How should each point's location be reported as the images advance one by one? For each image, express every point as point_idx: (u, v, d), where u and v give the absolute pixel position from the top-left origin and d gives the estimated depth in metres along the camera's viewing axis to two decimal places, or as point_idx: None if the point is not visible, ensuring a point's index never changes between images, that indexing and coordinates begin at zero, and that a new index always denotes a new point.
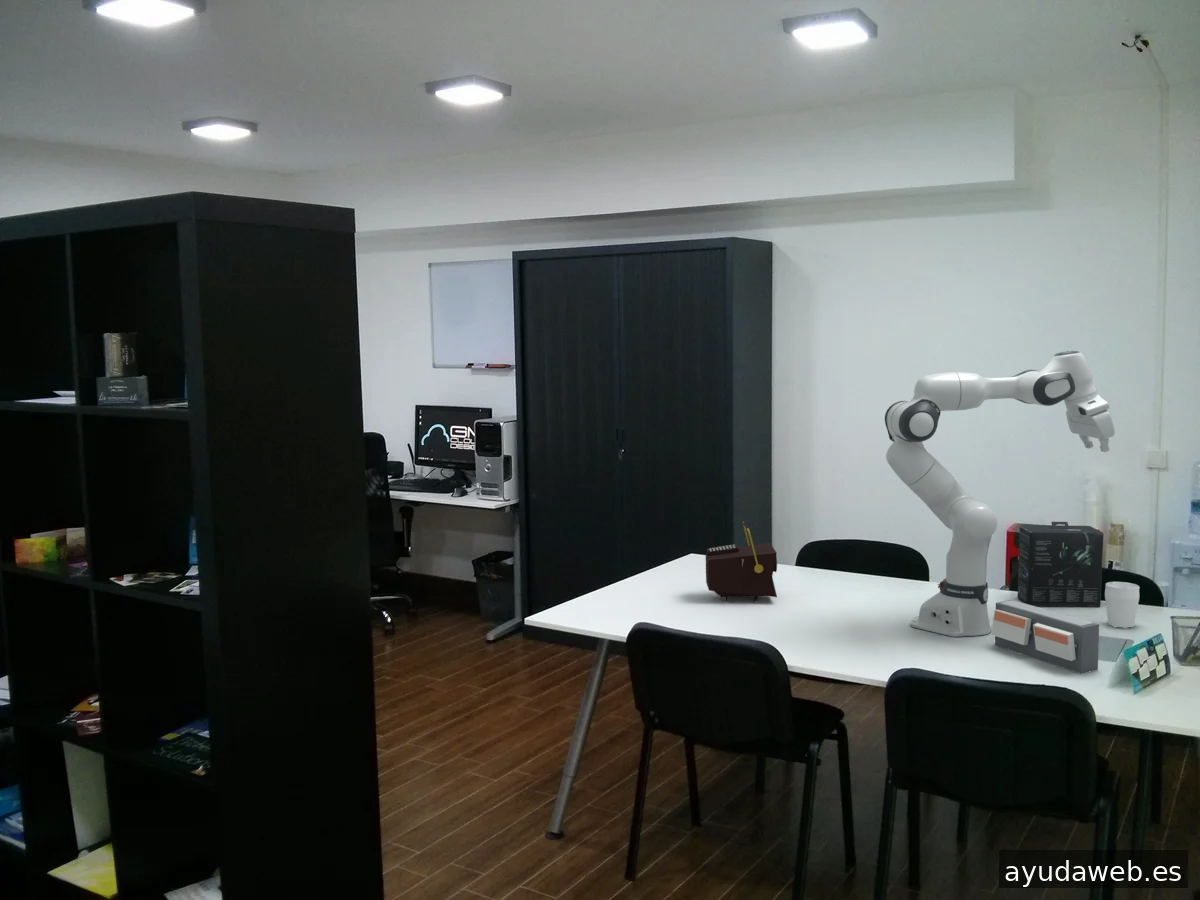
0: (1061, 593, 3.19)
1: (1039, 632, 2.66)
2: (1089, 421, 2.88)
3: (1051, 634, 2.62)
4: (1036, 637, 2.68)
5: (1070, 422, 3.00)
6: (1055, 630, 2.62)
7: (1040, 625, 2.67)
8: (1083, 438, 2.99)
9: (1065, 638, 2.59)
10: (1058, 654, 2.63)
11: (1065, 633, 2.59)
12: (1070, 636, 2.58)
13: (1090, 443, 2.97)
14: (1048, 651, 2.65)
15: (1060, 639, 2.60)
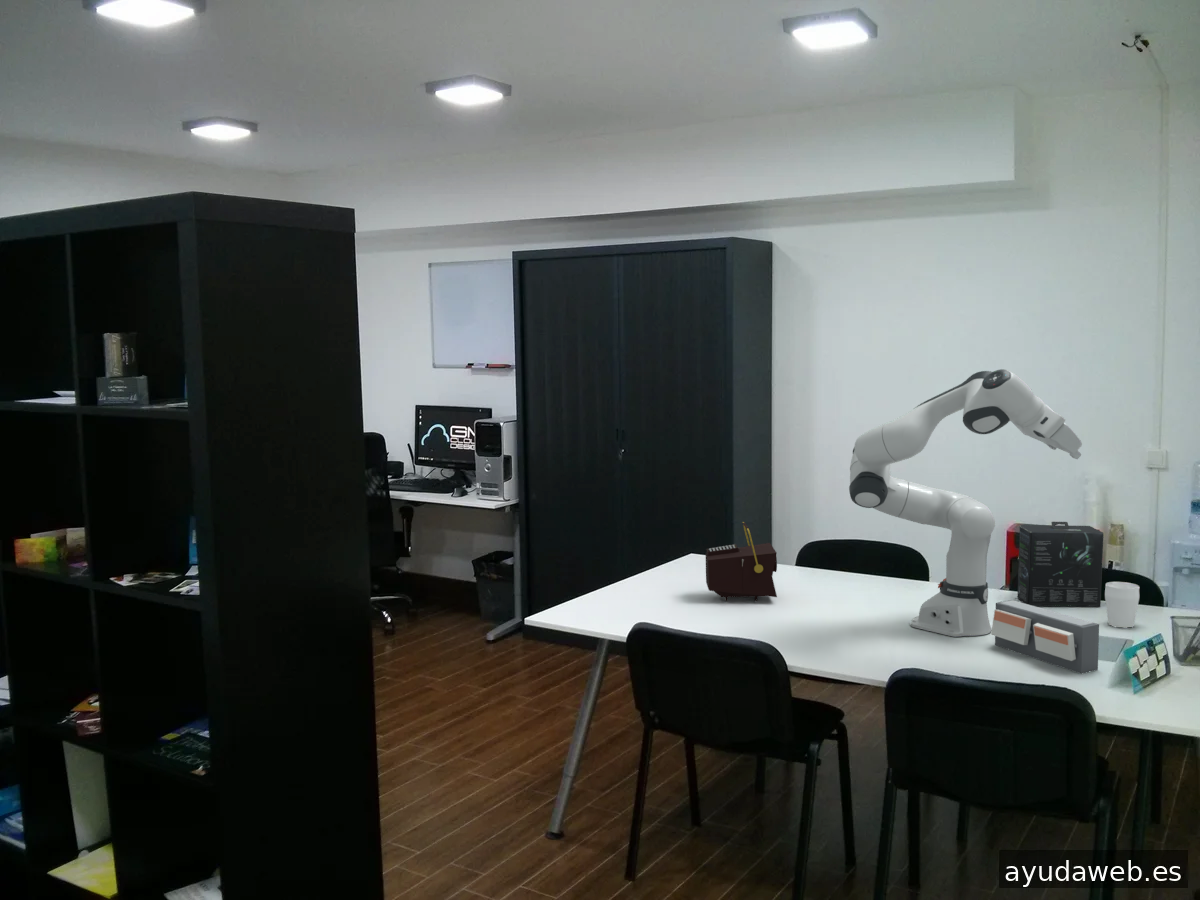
0: (1061, 593, 3.19)
1: (1039, 632, 2.66)
2: None
3: (1051, 634, 2.62)
4: (1036, 637, 2.68)
5: None
6: (1055, 630, 2.62)
7: (1040, 625, 2.67)
8: None
9: (1065, 638, 2.59)
10: (1058, 654, 2.63)
11: (1065, 633, 2.59)
12: (1070, 636, 2.58)
13: None
14: (1048, 651, 2.65)
15: (1060, 639, 2.60)
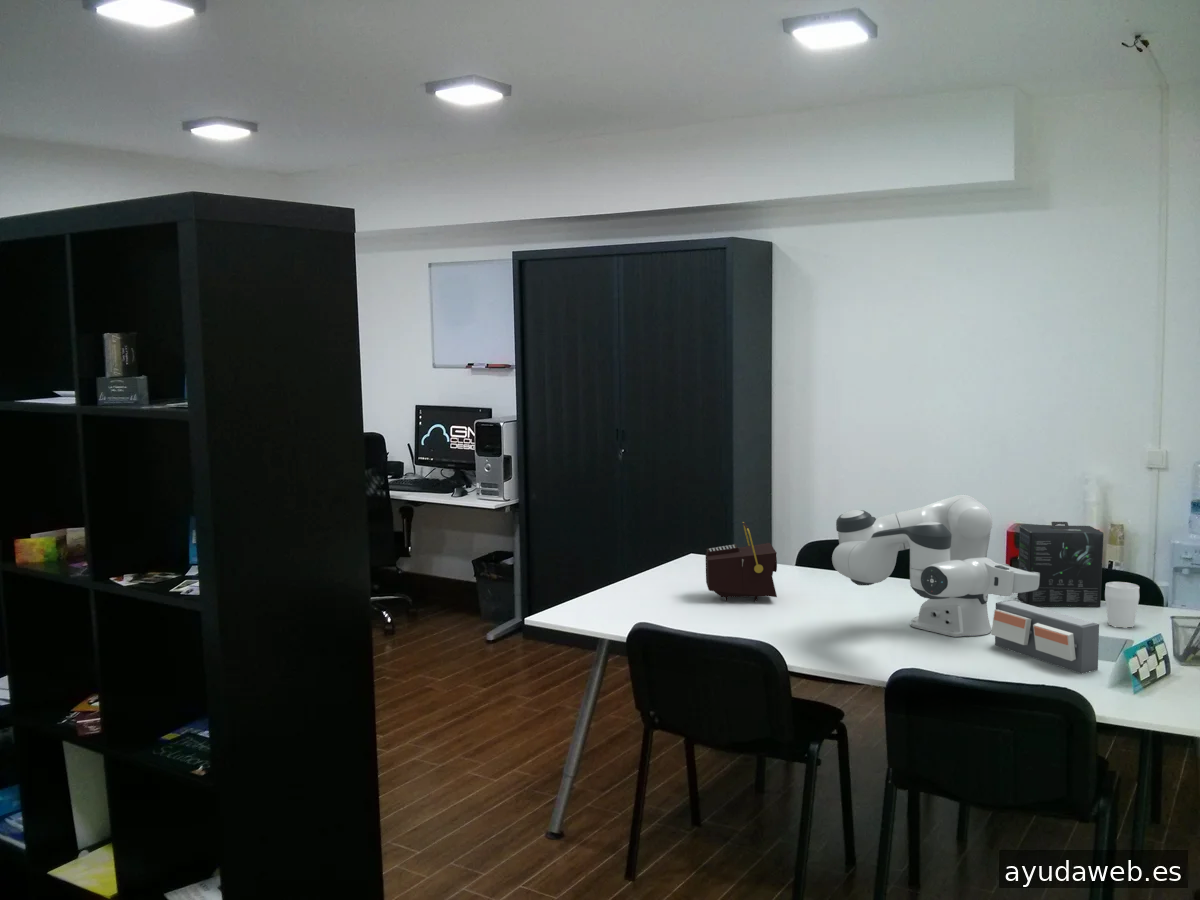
0: (1061, 593, 3.19)
1: (1039, 632, 2.66)
2: None
3: (1051, 634, 2.62)
4: (1036, 637, 2.68)
5: None
6: (1055, 630, 2.62)
7: (1040, 625, 2.67)
8: None
9: (1065, 638, 2.59)
10: (1058, 654, 2.63)
11: (1065, 633, 2.59)
12: (1070, 636, 2.58)
13: None
14: (1048, 651, 2.65)
15: (1060, 639, 2.60)
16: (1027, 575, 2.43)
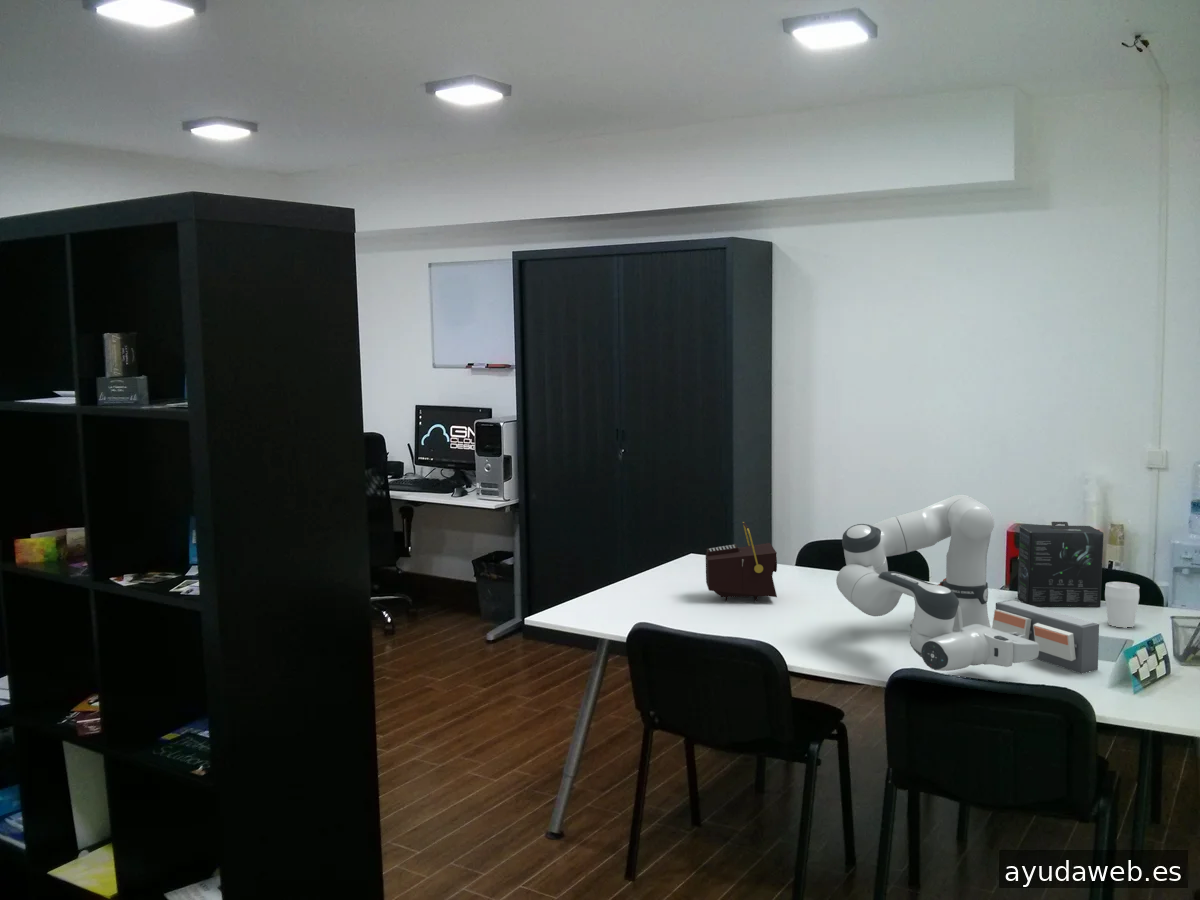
0: (1061, 593, 3.19)
1: (1039, 632, 2.66)
2: None
3: (1051, 634, 2.62)
4: (1036, 637, 2.68)
5: None
6: (1055, 630, 2.62)
7: (1040, 625, 2.67)
8: None
9: (1065, 638, 2.59)
10: (1058, 654, 2.63)
11: (1065, 633, 2.59)
12: (1070, 636, 2.58)
13: (1017, 636, 2.58)
14: (1048, 651, 2.65)
15: (1060, 639, 2.60)
16: (1026, 645, 2.45)
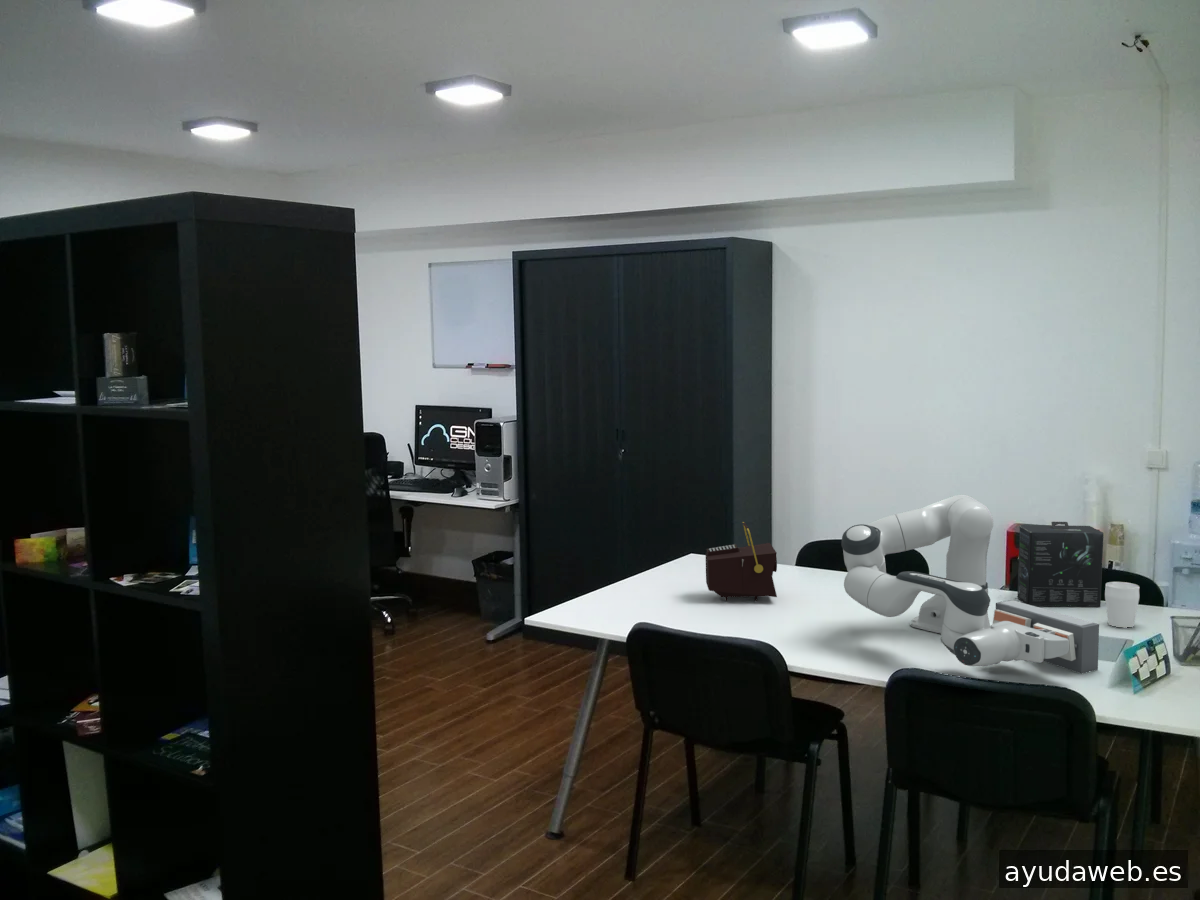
0: (1061, 593, 3.19)
1: None
2: None
3: None
4: None
5: None
6: (1055, 630, 2.62)
7: (1040, 625, 2.67)
8: None
9: None
10: None
11: (1065, 633, 2.59)
12: (1070, 636, 2.58)
13: (1046, 632, 2.62)
14: None
15: None
16: (1057, 641, 2.50)
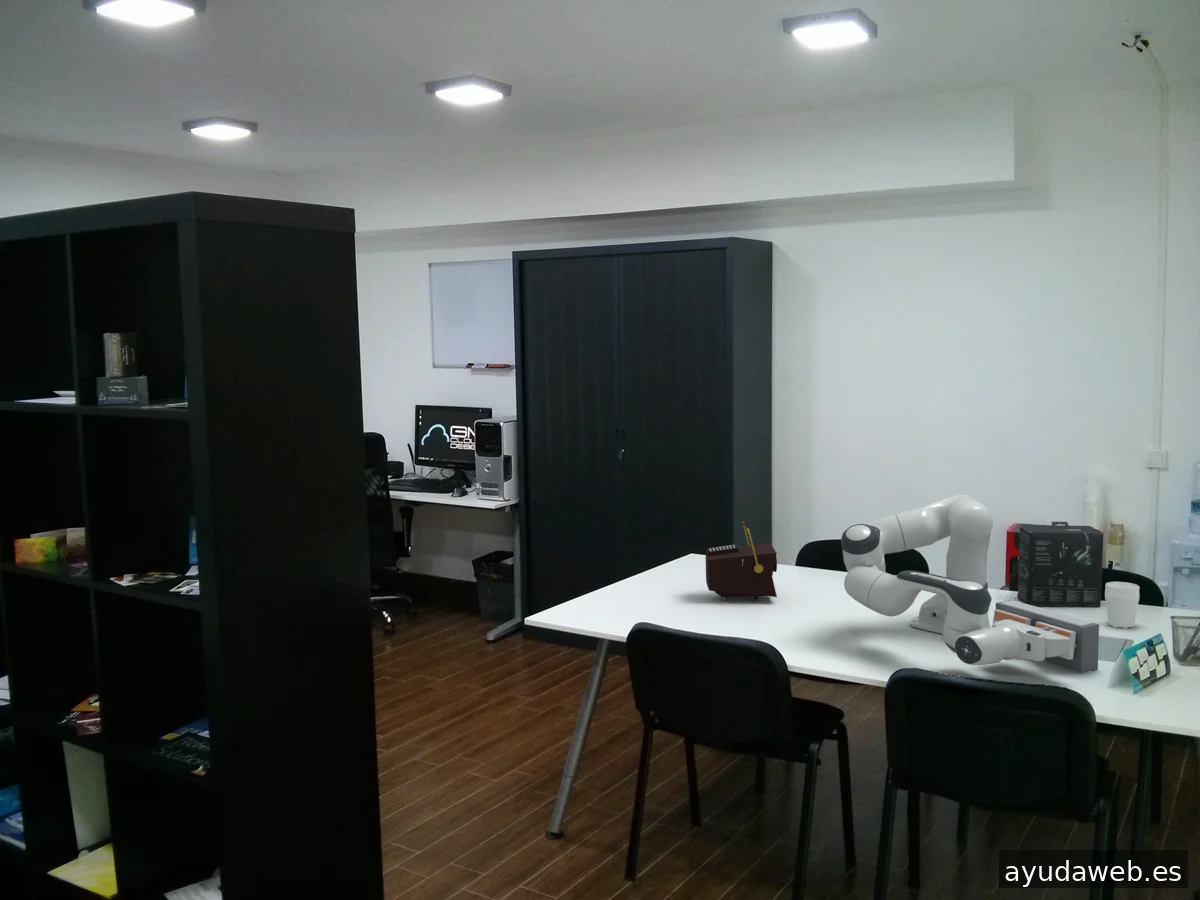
0: (1061, 593, 3.19)
1: None
2: None
3: None
4: None
5: None
6: (1058, 628, 2.63)
7: (1043, 623, 2.67)
8: None
9: (1067, 635, 2.59)
10: None
11: (1068, 631, 2.60)
12: (1073, 634, 2.59)
13: (1048, 631, 2.62)
14: None
15: None
16: (1058, 640, 2.50)
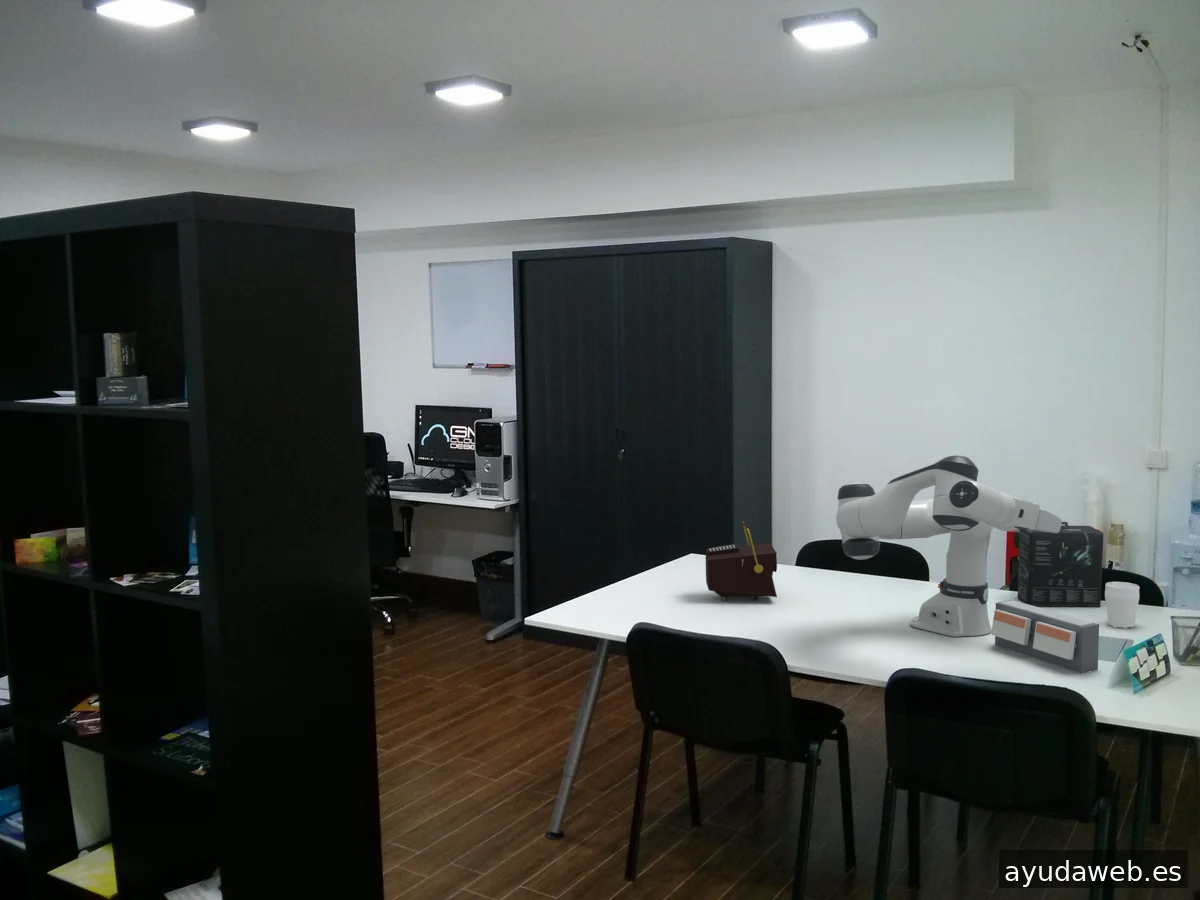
0: (1060, 593, 3.19)
1: (1041, 629, 2.66)
2: None
3: (1054, 631, 2.63)
4: (1036, 635, 2.68)
5: None
6: (1058, 628, 2.63)
7: (1043, 623, 2.67)
8: None
9: (1067, 635, 2.59)
10: (1055, 652, 2.62)
11: (1068, 630, 2.60)
12: (1073, 634, 2.59)
13: None
14: (1045, 649, 2.65)
15: (1061, 635, 2.61)
16: (1052, 514, 2.46)
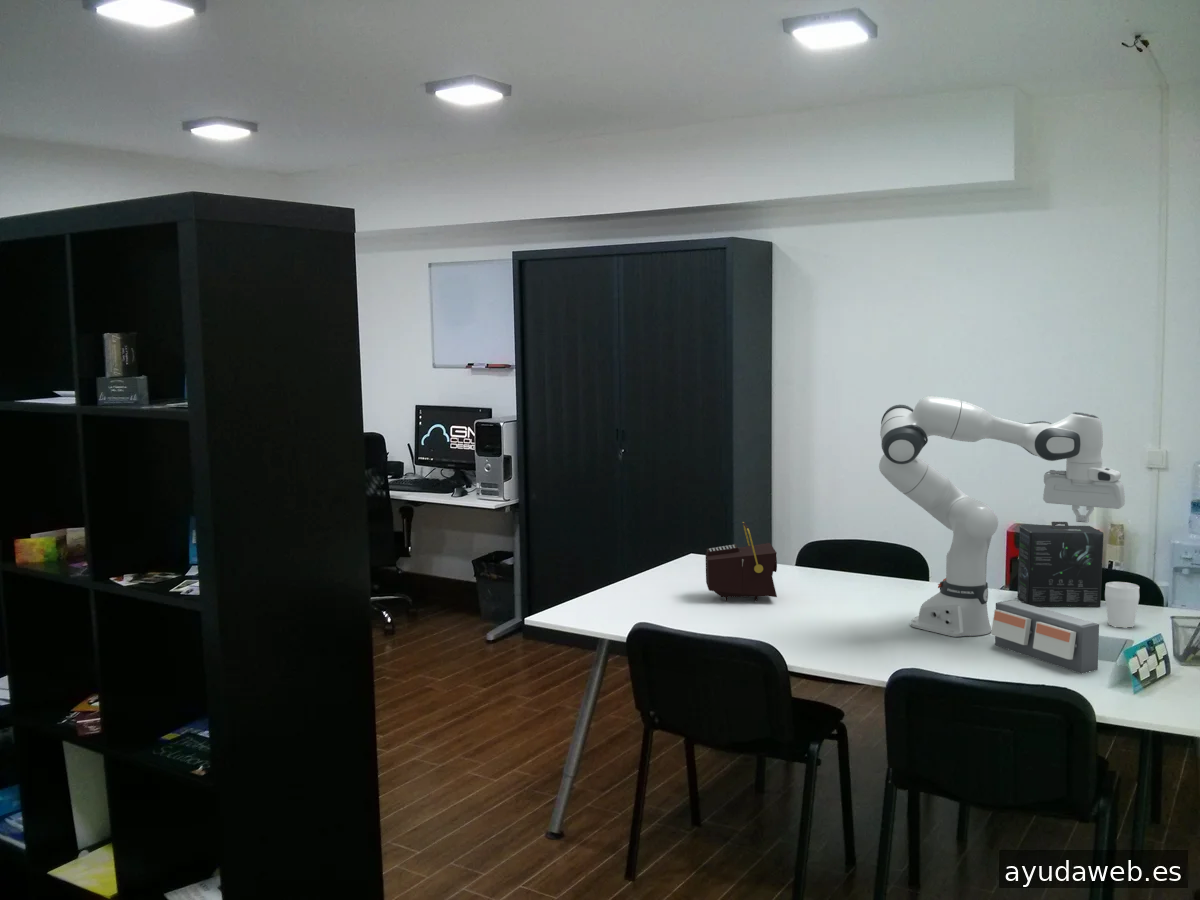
0: (1061, 593, 3.19)
1: (1041, 629, 2.66)
2: (1098, 489, 2.75)
3: (1054, 631, 2.63)
4: (1036, 635, 2.68)
5: (1051, 490, 2.83)
6: (1058, 627, 2.63)
7: (1043, 623, 2.67)
8: (1076, 510, 2.80)
9: (1067, 635, 2.59)
10: (1055, 652, 2.62)
11: (1068, 630, 2.60)
12: (1073, 634, 2.59)
13: None
14: (1045, 649, 2.65)
15: (1061, 635, 2.61)
16: (1123, 491, 2.74)
